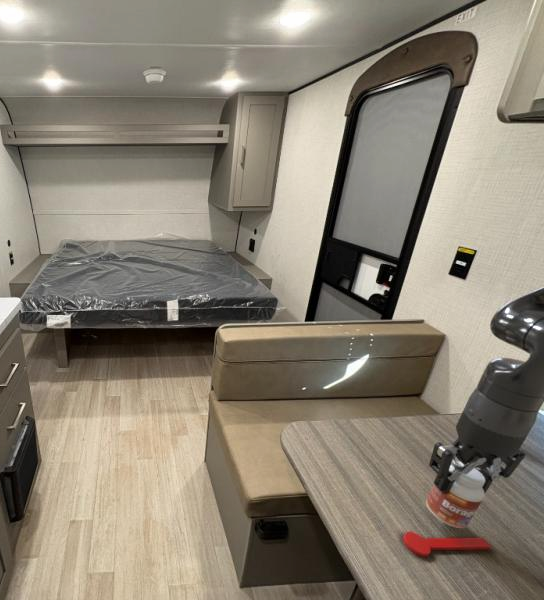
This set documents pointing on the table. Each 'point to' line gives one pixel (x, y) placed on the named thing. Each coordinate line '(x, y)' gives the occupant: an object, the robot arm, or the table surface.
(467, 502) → the pill bottle
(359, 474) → the table surface
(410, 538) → the spoon
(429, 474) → the table surface
